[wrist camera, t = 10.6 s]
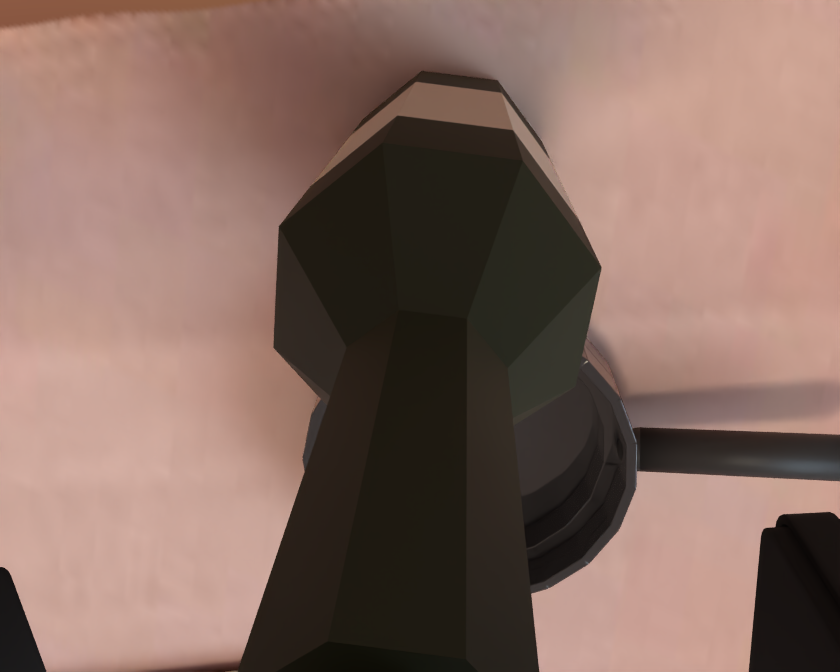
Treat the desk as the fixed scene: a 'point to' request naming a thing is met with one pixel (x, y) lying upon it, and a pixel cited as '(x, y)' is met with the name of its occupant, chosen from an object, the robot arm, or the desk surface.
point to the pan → (566, 472)
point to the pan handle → (738, 453)
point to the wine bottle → (422, 385)
